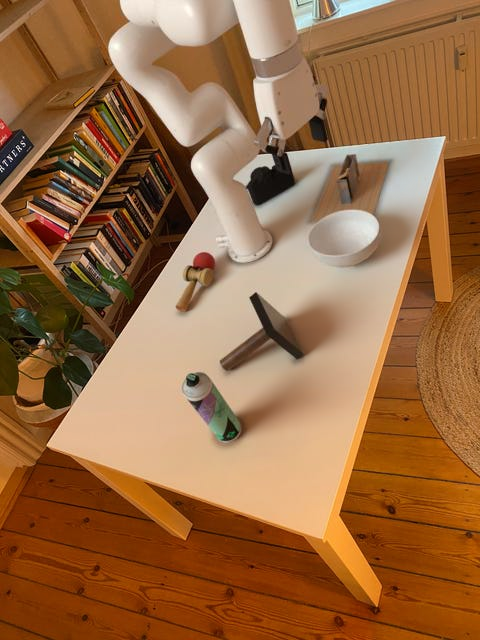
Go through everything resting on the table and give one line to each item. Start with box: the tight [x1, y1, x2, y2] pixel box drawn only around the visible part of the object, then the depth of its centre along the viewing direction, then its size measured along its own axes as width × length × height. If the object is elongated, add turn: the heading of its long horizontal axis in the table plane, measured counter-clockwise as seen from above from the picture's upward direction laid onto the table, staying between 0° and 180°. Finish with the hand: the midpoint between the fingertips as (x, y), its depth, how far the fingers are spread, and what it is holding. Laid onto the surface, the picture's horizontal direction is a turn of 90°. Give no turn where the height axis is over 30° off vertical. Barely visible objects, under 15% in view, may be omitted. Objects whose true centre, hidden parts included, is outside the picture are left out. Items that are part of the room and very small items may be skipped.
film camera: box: [245, 164, 296, 206], centre depth 145 cm, size 15×10×9 cm, turn 114°
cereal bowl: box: [307, 210, 381, 268], centre depth 118 cm, size 17×17×7 cm
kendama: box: [175, 251, 216, 313], centre depth 129 cm, size 8×6×18 cm
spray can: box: [181, 371, 243, 444], centre depth 92 cm, size 6×6×20 cm
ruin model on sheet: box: [311, 153, 391, 222], centre depth 132 cm, size 25×16×10 cm, turn 159°
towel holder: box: [219, 291, 305, 372], centre depth 105 cm, size 18×12×12 cm
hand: (303, 155), depth 87 cm, fingers open, 9 cm apart
